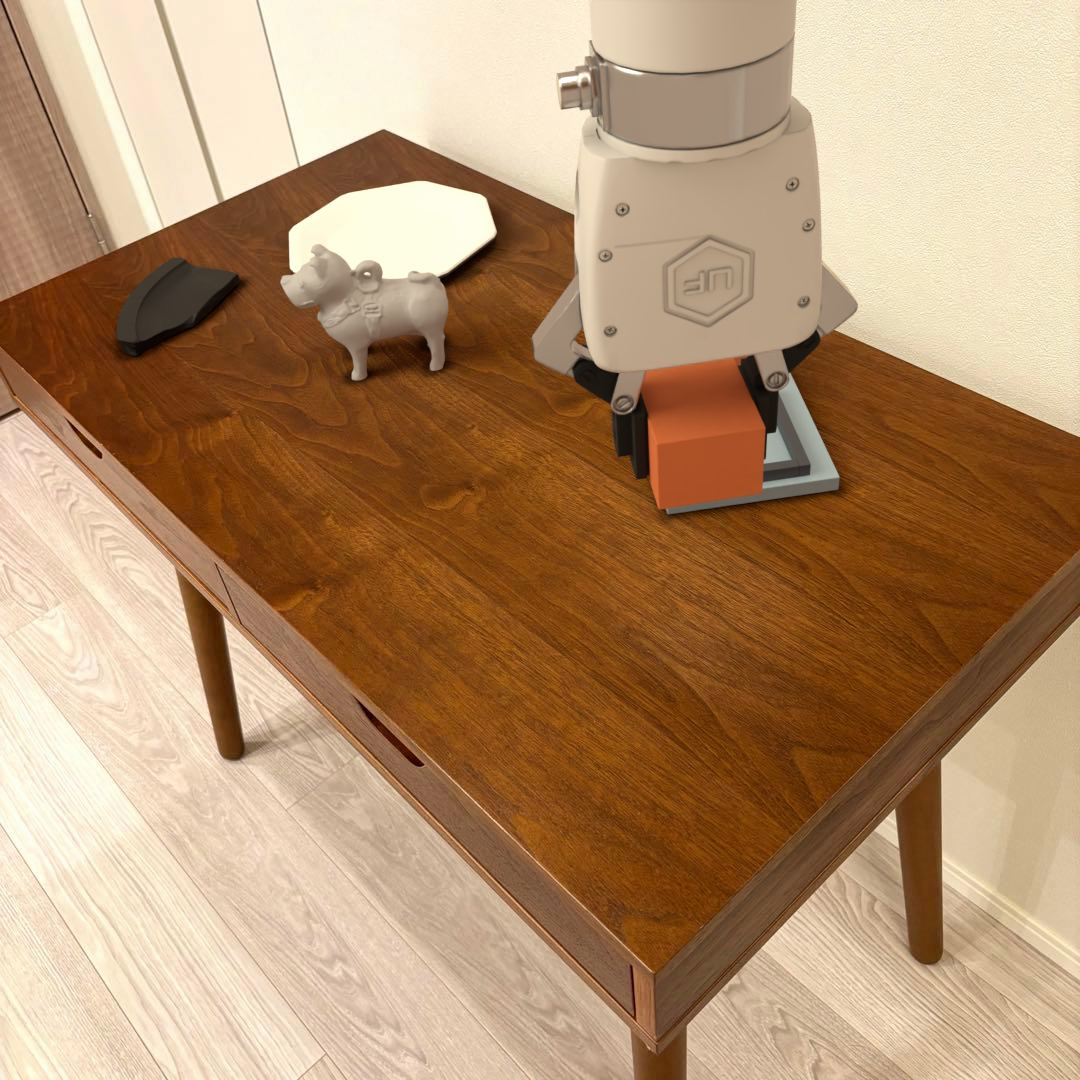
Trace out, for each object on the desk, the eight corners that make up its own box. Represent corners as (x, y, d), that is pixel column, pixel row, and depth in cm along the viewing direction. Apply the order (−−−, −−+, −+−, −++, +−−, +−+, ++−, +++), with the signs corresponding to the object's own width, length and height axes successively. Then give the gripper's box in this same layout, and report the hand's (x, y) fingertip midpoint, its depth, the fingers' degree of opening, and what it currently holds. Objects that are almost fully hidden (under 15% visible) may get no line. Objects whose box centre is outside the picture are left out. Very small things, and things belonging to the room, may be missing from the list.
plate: (291, 216, 118) (287, 202, 116) (479, 183, 119) (477, 170, 118) (294, 315, 103) (290, 301, 102) (508, 277, 104) (506, 262, 103)
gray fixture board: (765, 334, 94) (768, 278, 90) (838, 490, 79) (845, 430, 76) (621, 354, 94) (618, 299, 90) (667, 515, 79) (665, 456, 75)
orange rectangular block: (726, 407, 59) (727, 342, 56) (762, 494, 54) (765, 427, 51) (631, 422, 59) (627, 357, 56) (658, 510, 54) (656, 444, 51)
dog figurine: (308, 354, 98) (276, 242, 91) (455, 333, 98) (435, 219, 91) (305, 389, 94) (271, 275, 87) (458, 367, 94) (437, 251, 87)
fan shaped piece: (83, 347, 103) (76, 331, 102) (176, 271, 111) (170, 256, 110) (156, 361, 100) (150, 345, 99) (245, 282, 108) (240, 266, 107)
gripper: (482, 159, 41) (532, 529, 53) (946, 90, 41) (889, 473, 54) (465, 80, 46) (515, 433, 59) (876, 20, 47) (839, 383, 59)
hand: (694, 449), depth 56 cm, fingers closed on orange rectangular block, 5 cm apart
